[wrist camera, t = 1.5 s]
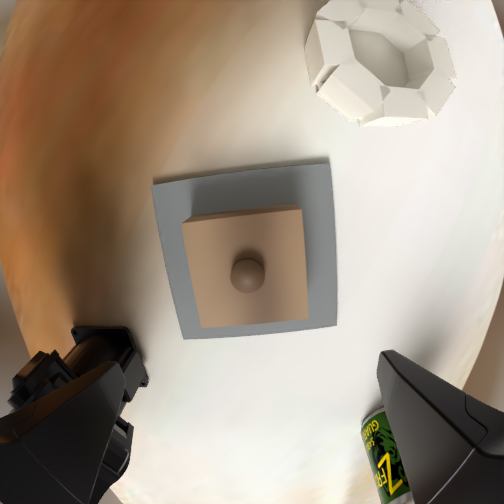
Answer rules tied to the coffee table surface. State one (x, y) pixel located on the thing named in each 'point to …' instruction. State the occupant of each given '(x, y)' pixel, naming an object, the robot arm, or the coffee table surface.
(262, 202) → the mat
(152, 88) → the coffee table surface
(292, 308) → the lid
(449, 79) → the bowl
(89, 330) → the robot arm
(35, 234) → the coffee table surface
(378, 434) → the beer can
